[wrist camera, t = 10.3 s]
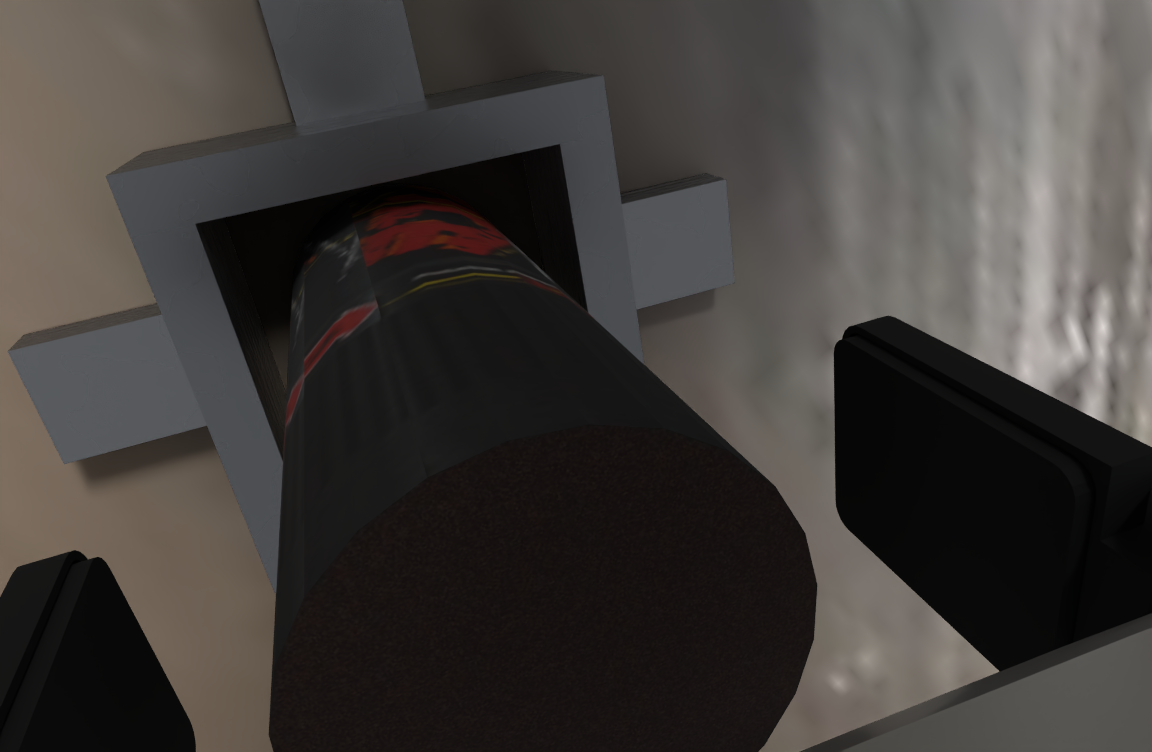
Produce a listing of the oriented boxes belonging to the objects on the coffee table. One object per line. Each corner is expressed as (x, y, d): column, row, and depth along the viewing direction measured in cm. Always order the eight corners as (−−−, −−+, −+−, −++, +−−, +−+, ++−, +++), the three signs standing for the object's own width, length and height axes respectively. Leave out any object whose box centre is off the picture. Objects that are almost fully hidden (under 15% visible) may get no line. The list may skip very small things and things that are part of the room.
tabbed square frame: (-144, -9, 16) (-269, -24, 13) (678, -131, 20) (758, -169, 16) (183, 662, 24) (162, 770, 20) (735, 482, 27) (799, 546, 24)
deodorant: (249, 339, 21) (154, 845, 8) (361, 138, 20) (474, 314, 7) (447, 429, 24) (631, 922, 10) (554, 254, 23) (910, 548, 9)
